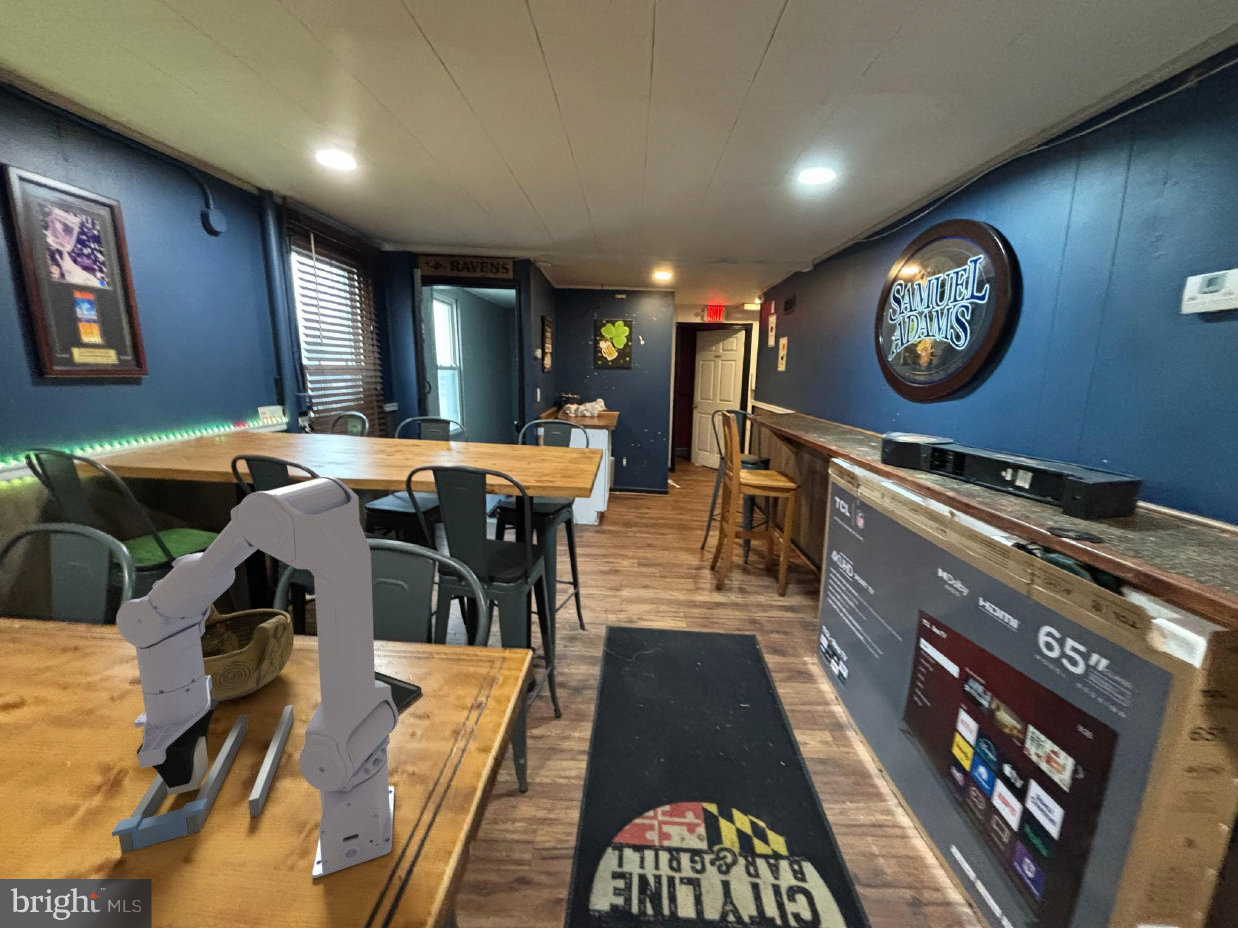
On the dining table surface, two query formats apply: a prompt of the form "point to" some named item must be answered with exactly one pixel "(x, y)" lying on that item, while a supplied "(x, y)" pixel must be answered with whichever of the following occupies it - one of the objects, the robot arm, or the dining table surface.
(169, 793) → the cream rectangular box
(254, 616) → the ceramic bowl
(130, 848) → the metal rails
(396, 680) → the black tray
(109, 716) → the dining table surface
